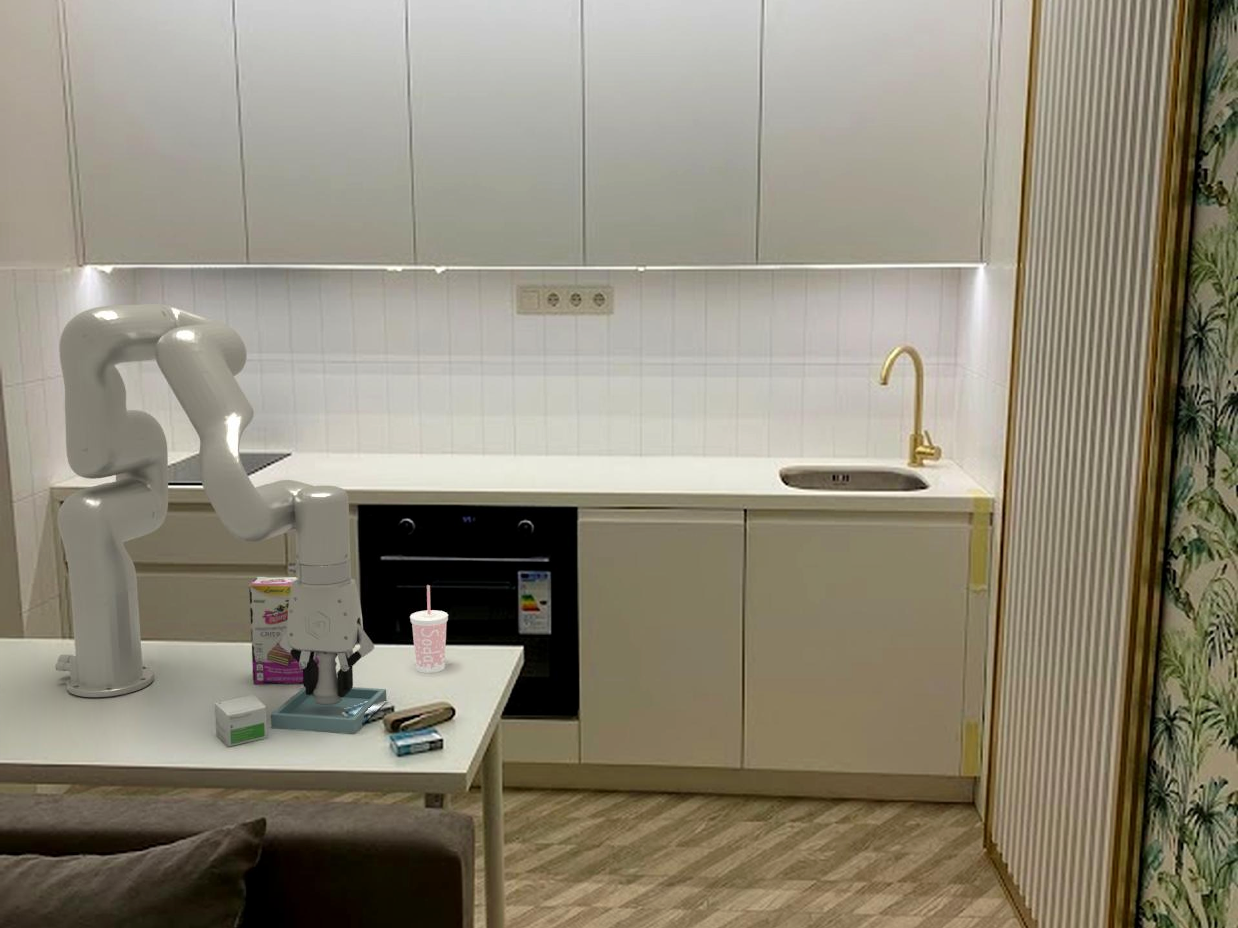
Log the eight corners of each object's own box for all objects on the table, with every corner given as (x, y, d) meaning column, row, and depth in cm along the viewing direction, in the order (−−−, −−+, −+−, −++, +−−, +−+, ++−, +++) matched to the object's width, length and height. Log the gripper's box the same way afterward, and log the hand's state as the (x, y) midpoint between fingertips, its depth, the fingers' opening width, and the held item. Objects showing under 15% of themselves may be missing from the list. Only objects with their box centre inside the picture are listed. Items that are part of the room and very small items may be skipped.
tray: (271, 727, 171) (270, 714, 170) (308, 696, 183) (307, 684, 183) (354, 733, 169) (354, 720, 168) (386, 701, 181) (386, 689, 181)
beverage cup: (405, 672, 194) (403, 589, 191) (419, 660, 200) (417, 579, 197) (441, 675, 192) (439, 591, 190) (454, 663, 198) (452, 581, 196)
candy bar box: (252, 685, 188) (247, 584, 185) (260, 674, 193) (255, 575, 190) (324, 684, 188) (319, 583, 185) (330, 673, 193) (326, 575, 190)
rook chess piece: (328, 692, 179) (326, 641, 177) (350, 698, 176) (348, 646, 175) (306, 702, 175) (304, 649, 173) (329, 708, 173) (327, 655, 171)
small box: (228, 748, 164) (226, 714, 163) (215, 734, 169) (213, 701, 168) (269, 738, 167) (267, 705, 166) (254, 725, 172) (253, 693, 171)
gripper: (257, 575, 170) (263, 698, 173) (370, 581, 167) (373, 706, 170) (280, 562, 177) (285, 680, 180) (389, 568, 175) (392, 687, 178)
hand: (328, 691), depth 175 cm, fingers closed on rook chess piece, 4 cm apart
